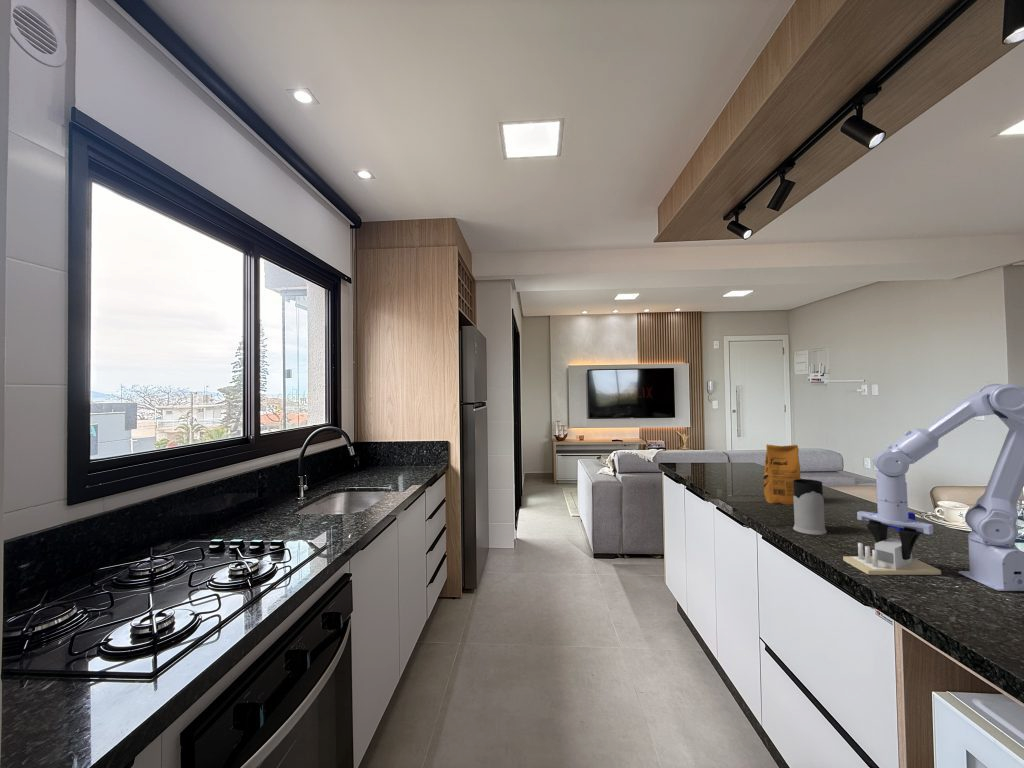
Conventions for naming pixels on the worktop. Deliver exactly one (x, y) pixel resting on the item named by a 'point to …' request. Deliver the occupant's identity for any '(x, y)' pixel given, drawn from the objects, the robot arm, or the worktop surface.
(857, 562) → the board
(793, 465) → the coffee package
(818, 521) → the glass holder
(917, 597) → the worktop surface
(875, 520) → the robot arm
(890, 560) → the plug housing
